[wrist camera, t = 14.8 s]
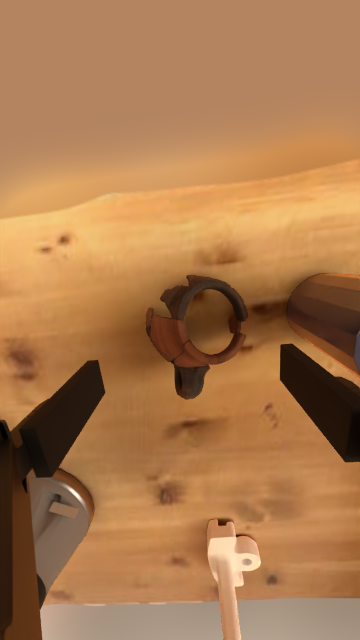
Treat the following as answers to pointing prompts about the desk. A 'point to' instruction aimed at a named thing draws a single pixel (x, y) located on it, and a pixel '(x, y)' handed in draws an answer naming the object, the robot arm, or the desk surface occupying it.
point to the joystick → (230, 570)
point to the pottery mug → (174, 337)
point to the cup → (329, 316)
